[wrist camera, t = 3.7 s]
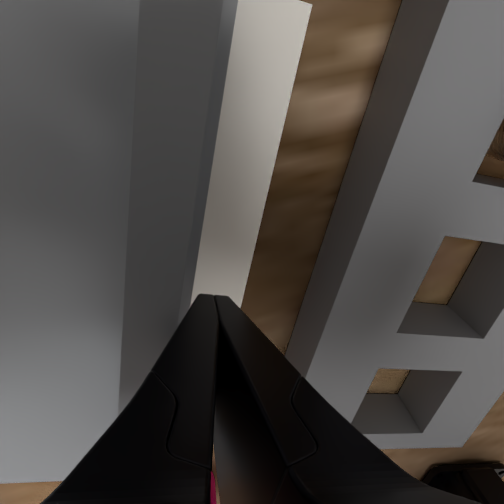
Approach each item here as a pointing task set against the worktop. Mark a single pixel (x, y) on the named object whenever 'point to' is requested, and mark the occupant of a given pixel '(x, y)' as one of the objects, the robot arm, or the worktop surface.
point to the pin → (497, 145)
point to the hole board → (416, 238)
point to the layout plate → (248, 139)
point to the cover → (97, 207)
